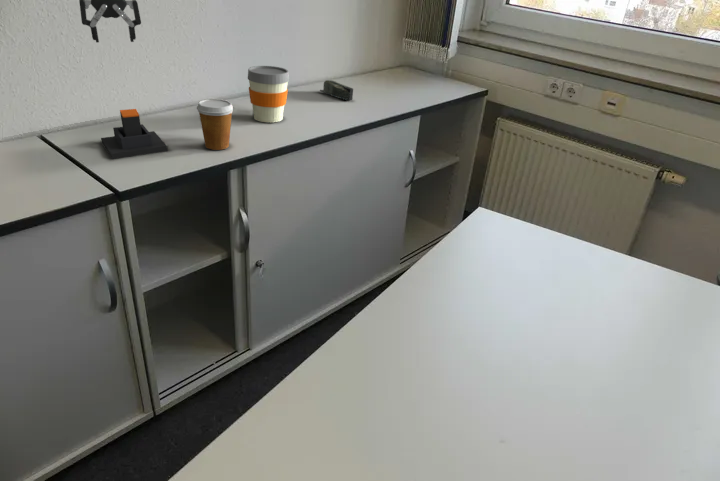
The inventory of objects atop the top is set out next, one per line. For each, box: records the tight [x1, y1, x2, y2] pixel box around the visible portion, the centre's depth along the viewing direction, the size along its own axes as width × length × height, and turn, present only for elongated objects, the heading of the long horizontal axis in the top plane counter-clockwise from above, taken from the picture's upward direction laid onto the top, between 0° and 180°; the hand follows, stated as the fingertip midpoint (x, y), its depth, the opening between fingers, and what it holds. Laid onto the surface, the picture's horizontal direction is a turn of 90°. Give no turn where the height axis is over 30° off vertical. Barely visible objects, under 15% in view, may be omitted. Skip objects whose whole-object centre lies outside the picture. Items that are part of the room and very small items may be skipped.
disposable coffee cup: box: [196, 98, 235, 151], centre depth 147 cm, size 10×10×12 cm
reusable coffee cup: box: [247, 65, 290, 123], centre depth 169 cm, size 13×13×15 cm
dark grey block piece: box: [319, 79, 354, 102], centre depth 197 cm, size 5×3×15 cm
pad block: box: [119, 108, 142, 137], centre depth 143 cm, size 4×5×8 cm
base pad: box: [100, 123, 168, 160], centre depth 144 cm, size 14×12×4 cm
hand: (114, 41), depth 144 cm, fingers open, 8 cm apart
